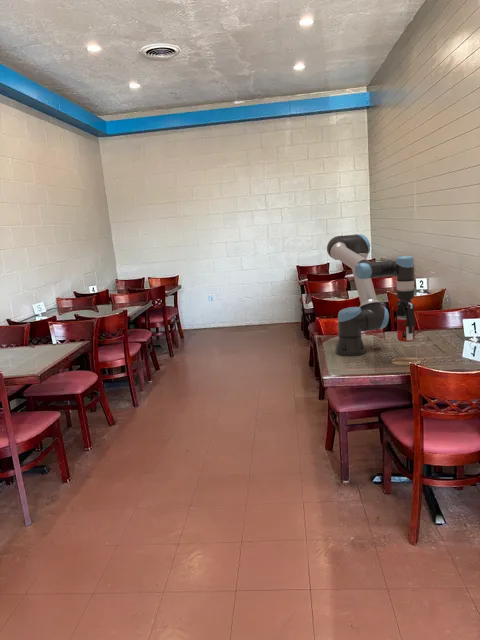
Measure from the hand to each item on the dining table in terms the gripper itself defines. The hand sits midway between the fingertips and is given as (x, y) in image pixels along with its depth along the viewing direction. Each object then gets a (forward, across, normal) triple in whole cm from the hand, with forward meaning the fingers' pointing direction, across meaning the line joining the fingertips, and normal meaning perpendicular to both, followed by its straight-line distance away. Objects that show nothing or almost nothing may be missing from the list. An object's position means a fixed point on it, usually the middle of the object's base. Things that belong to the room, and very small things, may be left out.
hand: (405, 338), depth 224 cm
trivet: (+12, 0, 0) cm, 12 cm away
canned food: (+1, 0, 0) cm, 1 cm away
